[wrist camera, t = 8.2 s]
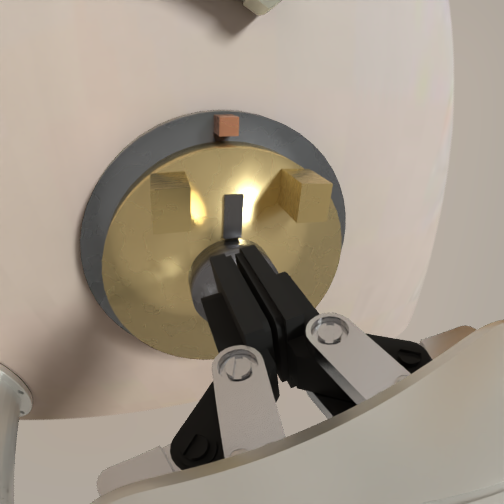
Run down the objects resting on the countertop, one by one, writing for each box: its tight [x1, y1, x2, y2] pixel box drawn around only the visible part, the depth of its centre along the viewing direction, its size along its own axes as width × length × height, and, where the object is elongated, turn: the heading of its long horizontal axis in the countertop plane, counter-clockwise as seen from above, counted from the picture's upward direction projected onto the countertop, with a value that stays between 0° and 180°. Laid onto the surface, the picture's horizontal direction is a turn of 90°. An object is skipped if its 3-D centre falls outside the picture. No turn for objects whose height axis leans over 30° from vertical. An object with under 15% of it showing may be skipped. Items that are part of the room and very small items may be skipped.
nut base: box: [80, 110, 345, 336], centre depth 24 cm, size 22×22×3 cm
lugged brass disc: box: [102, 141, 342, 360], centre depth 22 cm, size 18×18×6 cm
